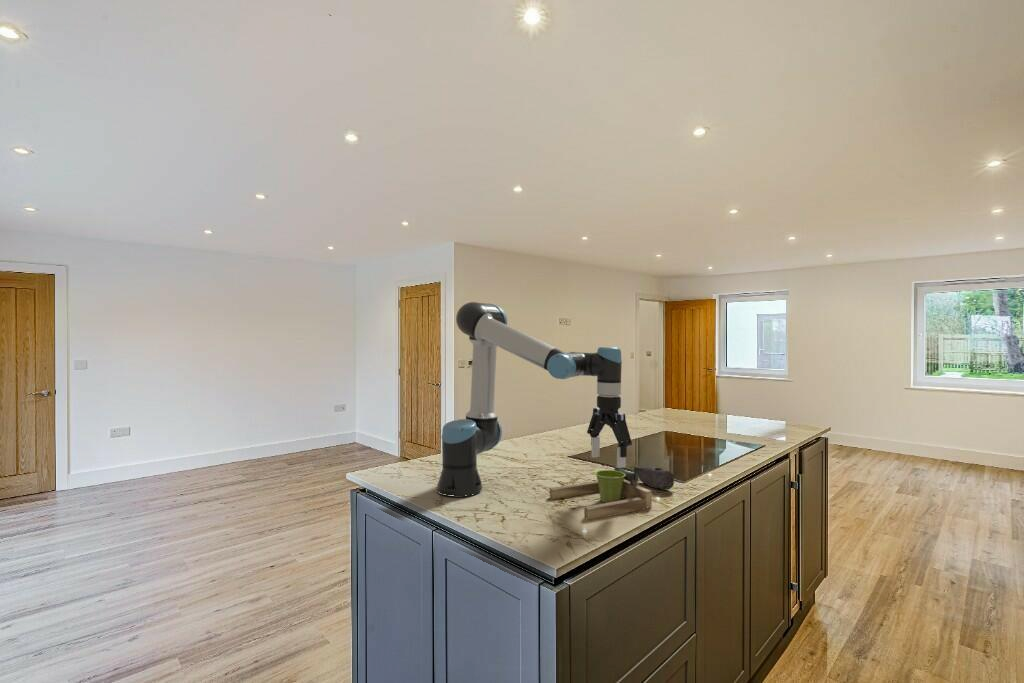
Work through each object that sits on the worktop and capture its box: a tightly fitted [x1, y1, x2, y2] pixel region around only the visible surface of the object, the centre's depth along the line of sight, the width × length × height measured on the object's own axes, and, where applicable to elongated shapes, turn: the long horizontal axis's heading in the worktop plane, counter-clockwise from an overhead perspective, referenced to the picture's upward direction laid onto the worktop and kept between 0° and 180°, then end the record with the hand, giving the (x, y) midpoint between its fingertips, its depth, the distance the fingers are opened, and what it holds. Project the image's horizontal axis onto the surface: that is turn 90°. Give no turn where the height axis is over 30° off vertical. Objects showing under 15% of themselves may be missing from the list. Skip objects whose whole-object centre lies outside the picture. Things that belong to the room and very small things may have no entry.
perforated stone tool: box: [638, 466, 675, 491], centre depth 169 cm, size 15×5×7 cm, turn 27°
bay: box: [549, 465, 653, 520], centre depth 153 cm, size 22×23×11 cm
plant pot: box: [595, 469, 626, 503], centre depth 154 cm, size 9×9×9 cm
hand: (607, 462), depth 155 cm, fingers open, 13 cm apart
